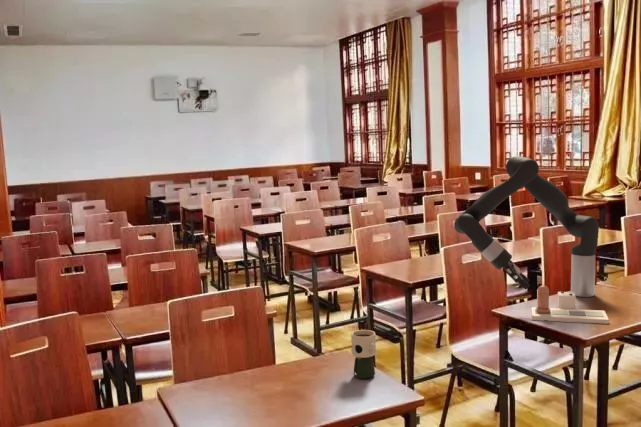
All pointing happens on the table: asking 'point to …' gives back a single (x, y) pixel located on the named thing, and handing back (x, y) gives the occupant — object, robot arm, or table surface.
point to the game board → (571, 315)
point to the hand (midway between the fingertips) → (527, 285)
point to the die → (566, 300)
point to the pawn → (543, 300)
